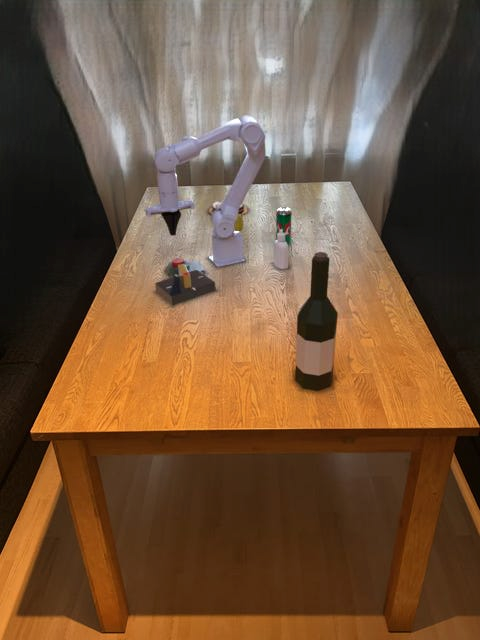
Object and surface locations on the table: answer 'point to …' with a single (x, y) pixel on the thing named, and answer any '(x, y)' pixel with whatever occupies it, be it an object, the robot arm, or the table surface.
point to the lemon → (239, 223)
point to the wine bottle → (316, 331)
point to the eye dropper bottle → (281, 251)
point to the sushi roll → (216, 205)
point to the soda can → (284, 222)
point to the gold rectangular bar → (184, 276)
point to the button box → (189, 266)
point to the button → (177, 262)
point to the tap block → (178, 293)
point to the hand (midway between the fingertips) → (172, 234)
